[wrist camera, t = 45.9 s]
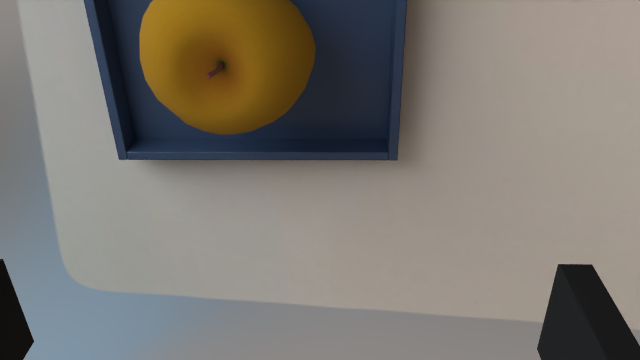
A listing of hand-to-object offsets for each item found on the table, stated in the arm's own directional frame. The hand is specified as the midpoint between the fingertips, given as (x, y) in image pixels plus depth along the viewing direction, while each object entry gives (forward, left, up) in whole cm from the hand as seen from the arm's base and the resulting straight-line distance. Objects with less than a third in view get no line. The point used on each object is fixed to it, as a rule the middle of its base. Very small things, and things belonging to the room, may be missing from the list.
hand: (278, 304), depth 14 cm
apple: (-4, 0, -24) cm, 25 cm away
